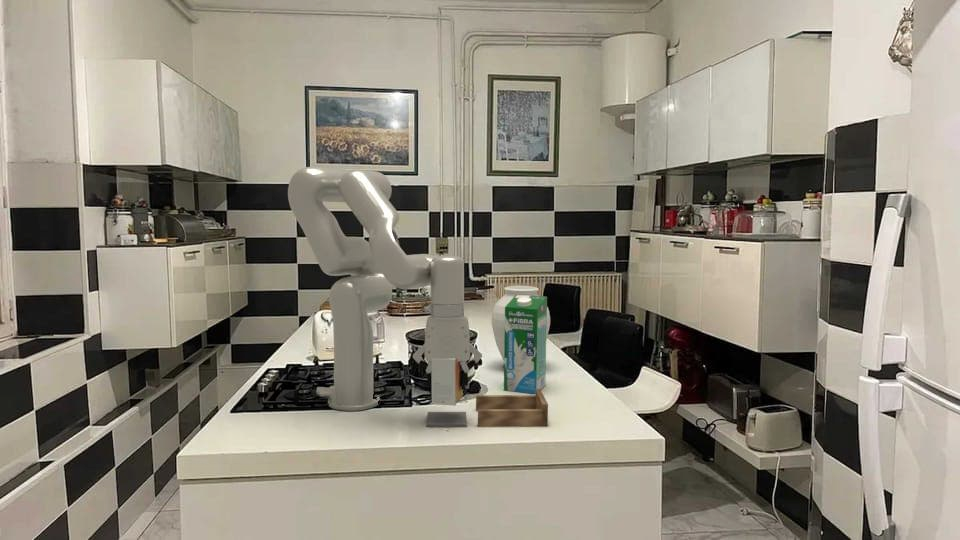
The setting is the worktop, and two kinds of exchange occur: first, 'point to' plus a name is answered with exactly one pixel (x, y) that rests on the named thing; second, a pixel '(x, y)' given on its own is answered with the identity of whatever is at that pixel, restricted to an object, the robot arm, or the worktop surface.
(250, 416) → the worktop surface
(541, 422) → the holder
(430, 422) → the pad
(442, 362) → the small box
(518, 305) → the milk carton
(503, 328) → the vase
